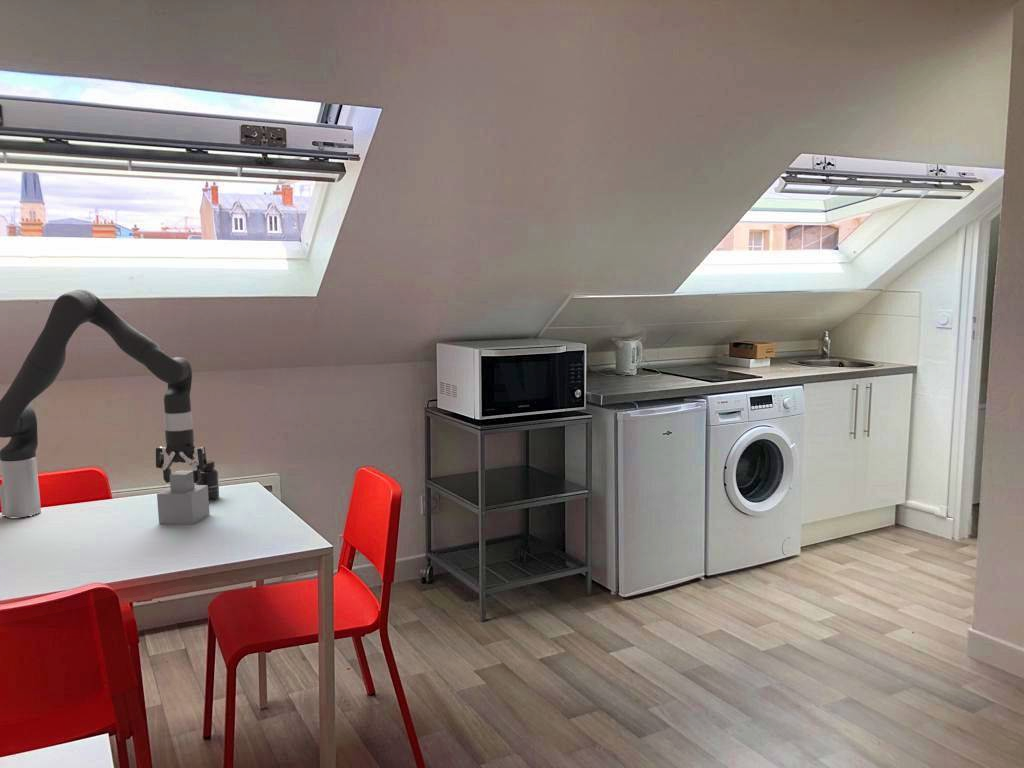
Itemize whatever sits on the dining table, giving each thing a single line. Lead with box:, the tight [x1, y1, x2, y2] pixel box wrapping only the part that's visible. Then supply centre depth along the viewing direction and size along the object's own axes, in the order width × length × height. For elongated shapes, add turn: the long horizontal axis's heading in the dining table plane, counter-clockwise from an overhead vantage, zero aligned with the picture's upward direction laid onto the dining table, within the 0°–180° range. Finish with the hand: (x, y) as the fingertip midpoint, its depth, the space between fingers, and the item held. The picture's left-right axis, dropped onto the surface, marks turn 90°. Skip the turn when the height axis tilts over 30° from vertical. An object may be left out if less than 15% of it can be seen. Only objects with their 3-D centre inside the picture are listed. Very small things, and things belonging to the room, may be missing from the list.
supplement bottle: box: [195, 460, 220, 502], centre depth 265 cm, size 7×7×12 cm
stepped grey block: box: [156, 470, 210, 525], centre depth 244 cm, size 10×10×14 cm
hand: (182, 482), depth 243 cm, fingers open, 8 cm apart
